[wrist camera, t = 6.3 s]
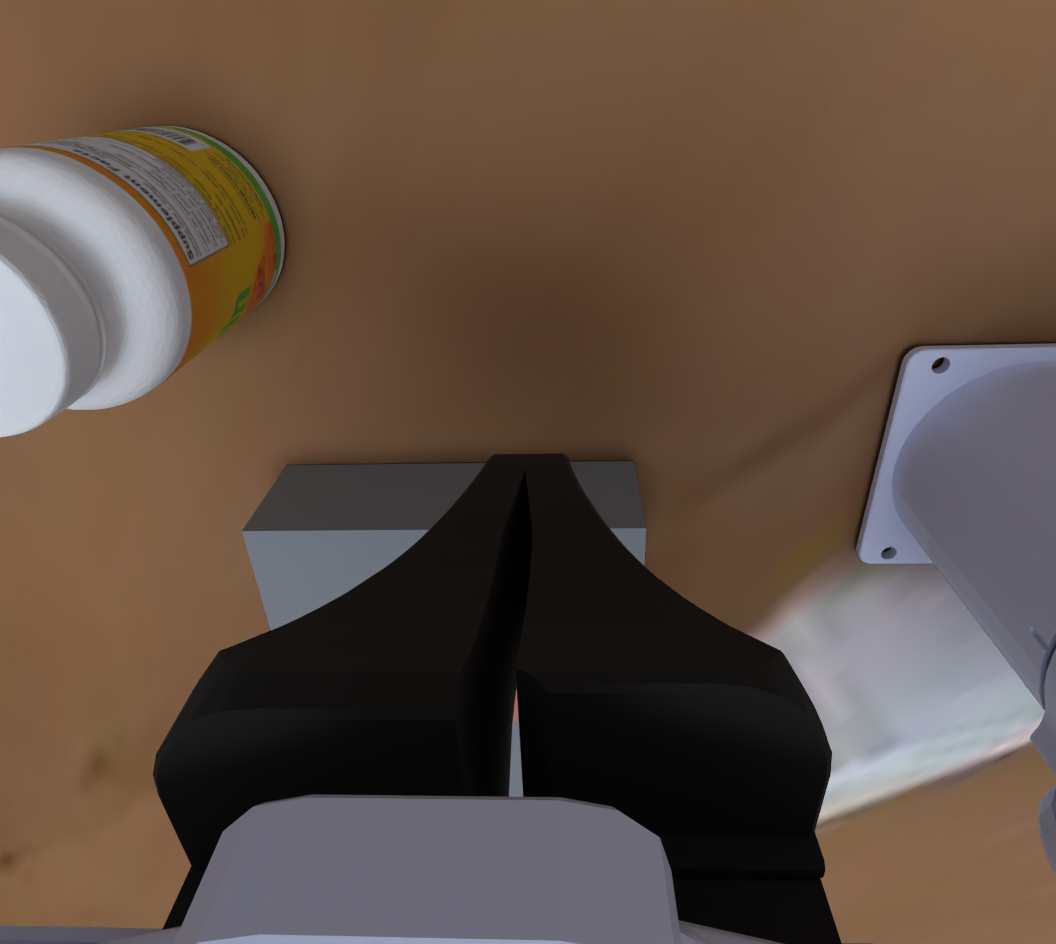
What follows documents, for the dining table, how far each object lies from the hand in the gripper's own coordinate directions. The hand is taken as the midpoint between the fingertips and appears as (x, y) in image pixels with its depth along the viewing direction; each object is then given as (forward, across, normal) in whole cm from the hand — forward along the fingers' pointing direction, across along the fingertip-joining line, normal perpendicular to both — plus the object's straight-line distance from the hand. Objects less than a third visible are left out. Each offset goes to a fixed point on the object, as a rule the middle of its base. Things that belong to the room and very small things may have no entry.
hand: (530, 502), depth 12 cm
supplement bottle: (+11, +10, -3) cm, 15 cm away
